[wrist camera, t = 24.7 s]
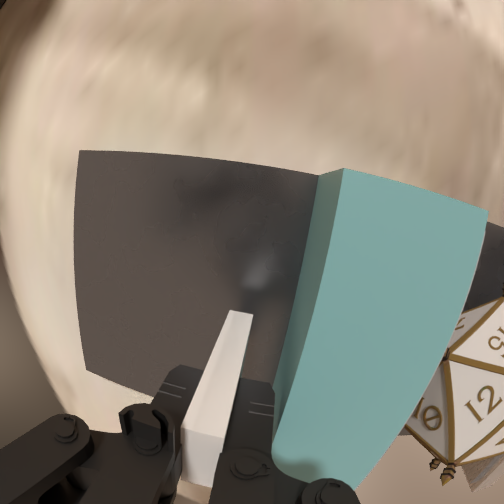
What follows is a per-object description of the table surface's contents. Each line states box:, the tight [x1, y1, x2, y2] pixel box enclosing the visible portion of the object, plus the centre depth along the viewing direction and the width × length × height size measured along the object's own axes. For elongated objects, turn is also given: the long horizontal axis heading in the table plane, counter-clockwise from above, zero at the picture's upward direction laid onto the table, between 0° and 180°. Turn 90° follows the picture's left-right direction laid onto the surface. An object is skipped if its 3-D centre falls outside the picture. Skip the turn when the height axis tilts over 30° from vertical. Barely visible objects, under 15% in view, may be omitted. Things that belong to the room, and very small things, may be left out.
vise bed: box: [74, 150, 504, 492], centre depth 11 cm, size 14×28×8 cm, turn 81°
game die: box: [404, 283, 504, 486], centre depth 9 cm, size 9×8×10 cm
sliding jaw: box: [271, 168, 489, 491], centre depth 10 cm, size 14×4×6 cm, turn 171°
